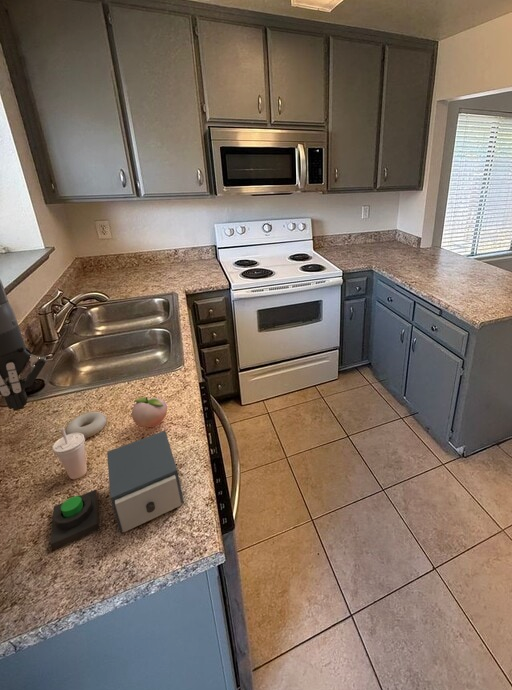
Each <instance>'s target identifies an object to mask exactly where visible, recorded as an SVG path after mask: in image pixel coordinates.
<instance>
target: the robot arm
mask: <svg viewBox="0 0 512 690" xmlns="http://www.w3.org/2000/svg"><path fill="white" fill-rule="evenodd" d="M46 361H47V356H46V355H45V354H42V355H37V354H36V355H35V354H32V352H31V350H30V349H29V348H28V347H27V346H26V344H25V341H24V337H23V334H22V332H21V330H20V326H19V322H18V321H17V318H16V314H15V311H14V309H13V307H12V306H11V304H10V301H9V299H8V296H7V293H6V290H5V287H4V285H3V282H2V279H1V278H0V396H2V397H4V400H5V402H6V405H7V408H8V409H9V410H13V412H15V411H19V410H22V409H25V406H27V403H28V400H29V399H28V398H29V397H28V396H27V392H26V390H25V389H27V388H30V387H32V386H33V384H34V382H35V381H36V379H37V378H38V376H39V374H40V373H41V371H42V370H43V368H44V367H45V364H46ZM29 362H30V367H31V369H30V371H29V373H28V374H27V375H26V378H24V379H23V377H22V373H23V372H24V370H25V368H26V367H27V365H28V363H29Z"/></svg>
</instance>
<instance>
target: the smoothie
mask: <svg viewBox="0 0 512 690" xmlns="http://www.w3.org/2000/svg"><path fill="white" fill-rule="evenodd" d="M60 430H61V434H62V437H60V438H59V439H57V440H56V441H55V442H54V443H53V445H52V448H51V449H52V453H53V454H54V455H56V457H57V458H58V460H59V461H60V463H61V465H62V467H63V469H64V470H65V473H67V475H68V477H69V479H71V480H76V479H80V478H82V477H83V476H84V475H85V474H86V473H87V472H88V466H87V464H88V463H87V457H86V448H85V447H86V446H85V442H86V438H84V435H83V434H81V433H72V434H68V435H66V429H65V428H64V427H61V428H60Z"/></svg>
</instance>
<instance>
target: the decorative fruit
mask: <svg viewBox="0 0 512 690" xmlns="http://www.w3.org/2000/svg"><path fill="white" fill-rule="evenodd" d="M134 403H135V404H134V405H133V408H132V410H131V417H132V420H133V422H134V423H135V425H137V426H139V427H141V428H153V427H157V426H158V425H160V424H161V423H162V422H163V420H164V419H165V418H166V416H167V414H168V405H167V403H166V401H165V400H164V399H162V398H160V397H151V398H150V397H148V396H146V397H144V396H142V397H137V398H136V399H134Z"/></svg>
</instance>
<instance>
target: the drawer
mask: <svg viewBox="0 0 512 690" xmlns="http://www.w3.org/2000/svg"><path fill="white" fill-rule="evenodd" d="M115 506H116V509H117V513H118V516H119V520H120V523H121V527H122V530H123V532H122V533H126V532H128V531H130V530H133V529H135V528H137V527H138V526H141V525H143V524H145V523H147V522H149V521H152V520H154V519H155V518H158V517H160V516H162V515H164V514H166V513H168V512H170V511H173V510H174V509H176V508H179V507H181V506H182V504H181V500H180V496H179V491H178V486H177V481H176V477H175V475H172V476H168V477H166V478H164V479H161V480H159V481H157V482H154V483H152V484H150V485H147V486H145V487H143V488H140V489H138V490H136V491H133V492H131V493H129V494H126V495H124V496H122V497H119V499H116V500H115Z"/></svg>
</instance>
